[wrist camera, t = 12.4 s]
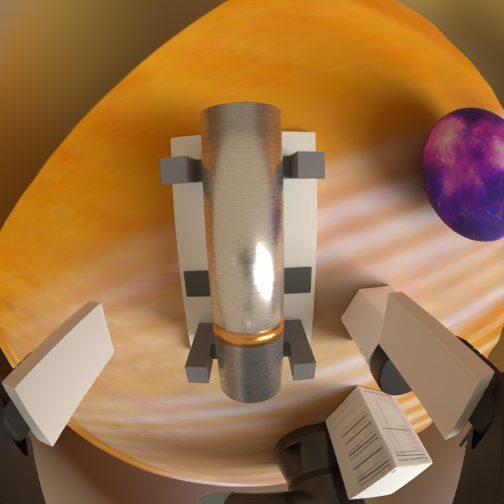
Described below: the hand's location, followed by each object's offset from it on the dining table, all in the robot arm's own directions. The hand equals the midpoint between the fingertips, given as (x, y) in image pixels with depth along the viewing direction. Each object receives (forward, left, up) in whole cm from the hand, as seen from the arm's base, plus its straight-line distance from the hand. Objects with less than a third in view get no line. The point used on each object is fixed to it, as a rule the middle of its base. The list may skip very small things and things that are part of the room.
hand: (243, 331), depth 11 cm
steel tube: (-1, 0, -11) cm, 11 cm away
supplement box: (-30, -18, -20) cm, 40 cm away
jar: (-11, -16, -20) cm, 28 cm away
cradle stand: (-2, 0, -20) cm, 20 cm away
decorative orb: (+8, -26, -20) cm, 34 cm away
